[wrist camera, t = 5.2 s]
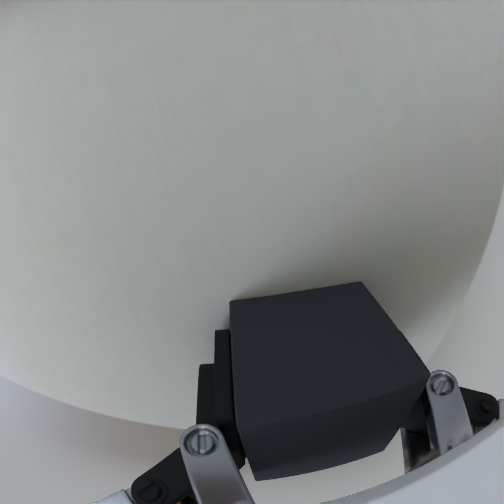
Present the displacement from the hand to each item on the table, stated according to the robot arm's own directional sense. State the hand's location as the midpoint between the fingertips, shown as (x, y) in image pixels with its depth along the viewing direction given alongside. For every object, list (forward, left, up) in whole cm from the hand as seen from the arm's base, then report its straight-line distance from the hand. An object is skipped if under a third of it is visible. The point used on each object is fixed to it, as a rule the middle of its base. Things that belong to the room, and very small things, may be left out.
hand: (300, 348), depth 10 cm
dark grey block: (0, 0, 0) cm, 0 cm away
